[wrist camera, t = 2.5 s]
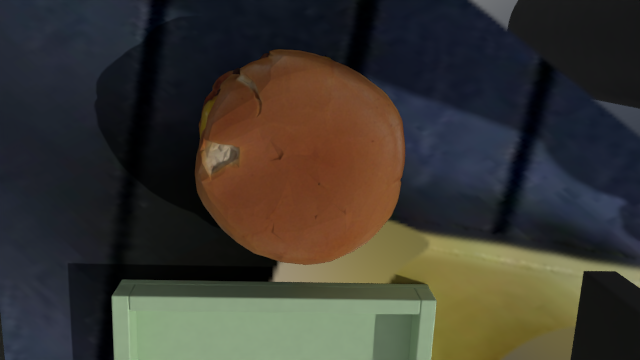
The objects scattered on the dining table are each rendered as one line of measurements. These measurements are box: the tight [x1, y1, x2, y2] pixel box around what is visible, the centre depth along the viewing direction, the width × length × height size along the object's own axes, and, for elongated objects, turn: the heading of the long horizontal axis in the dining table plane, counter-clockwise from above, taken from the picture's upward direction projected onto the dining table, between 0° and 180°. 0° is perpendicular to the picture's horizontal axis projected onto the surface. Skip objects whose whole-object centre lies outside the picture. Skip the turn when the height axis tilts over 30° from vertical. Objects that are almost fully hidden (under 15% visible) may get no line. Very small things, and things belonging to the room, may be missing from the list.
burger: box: [195, 49, 405, 265], centre depth 27 cm, size 10×9×5 cm
